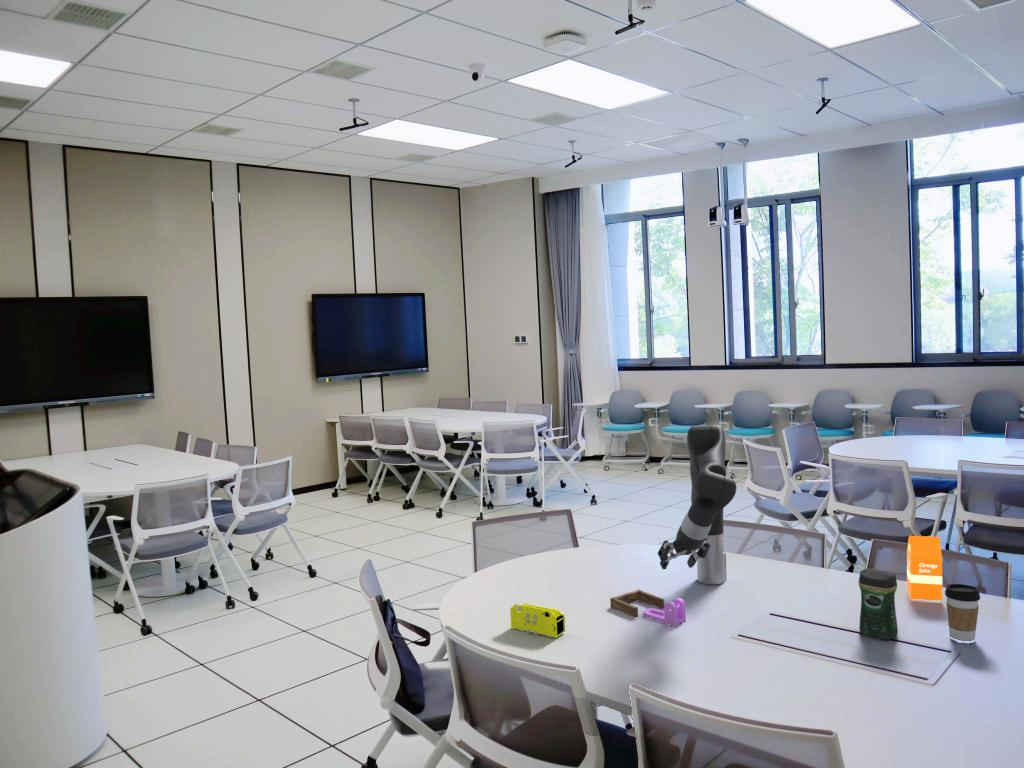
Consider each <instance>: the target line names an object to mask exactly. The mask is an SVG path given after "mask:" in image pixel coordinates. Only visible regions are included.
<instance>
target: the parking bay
mask: <svg viewBox="0 0 1024 768" xmlns="http://www.w3.org/2000/svg"><path fill="white" fill-rule="evenodd" d="M637 600H638V601H640V600H641V601H640V602H642V601H643V602H642V603H645V604H647V603H648V605H649V606H652V605H653V606H652V607H655V606H656V607H655V608H657V607H658V608H657V609H660V610H664V605H665V598H662V597H659V596H657V595H654V594H651V593H648V592H646V591H643V590H641V589H636V590H633V591H630V592H626V593H622V594H620V595H619V594H618V595H616V596H613V597H610V599H609V601H610V604H609V605H610V608H612V609H614V610H616V611H618V612H620V613H622V614H625V615H627V614H628V615H627V616H630V617H632V616H633V618H634V617H637V618H638V617H639V607H637V606H635V605H633V604H631V602H632V603H635V602H637ZM634 601H635V602H634Z"/></svg>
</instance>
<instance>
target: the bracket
mask: <svg viewBox="0 0 1024 768" xmlns="http://www.w3.org/2000/svg"><path fill="white" fill-rule="evenodd" d="M644 616H645V617H644ZM643 617H644V618H646V617H648V618H647V619H649V618H651V619H650V620H652V619H654V620H653V621H655V620H657V621H656V622H658V621H660V622H659V623H662V622H663V623H662V624H665V623H667V624H666V625H668V624H670V625H669V626H671V625H673V626H672V627H674V626H675V627H677V626H679V625H681V624H683V623H685V622H687V619H686V618H687V617H686V603H685V600H684V599H683V598H681V597H677V598H674V599H673V600H672V601H667V602H666V603H664V609H660V608H656V607H655V608H654V607H651V608H646V609H643ZM684 621H685V622H684ZM682 622H683V623H682ZM680 623H681V624H680ZM678 624H679V625H678Z"/></svg>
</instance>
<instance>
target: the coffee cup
mask: <svg viewBox="0 0 1024 768" xmlns="http://www.w3.org/2000/svg"><path fill="white" fill-rule="evenodd" d="M944 596H945V597H946V602H945V603H946V604H945V605H946V612H947V621H948V631H949V638H950V637H952V638H954V639H957V640H961V641H972V640H974V639H975V640H976V631H977V625H978V615H979V601H980V600H981V595H980V590H979V588H978V587H977V586H975V585H969V584H963V583H950V584H947V585H946V587H945V590H944Z"/></svg>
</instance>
